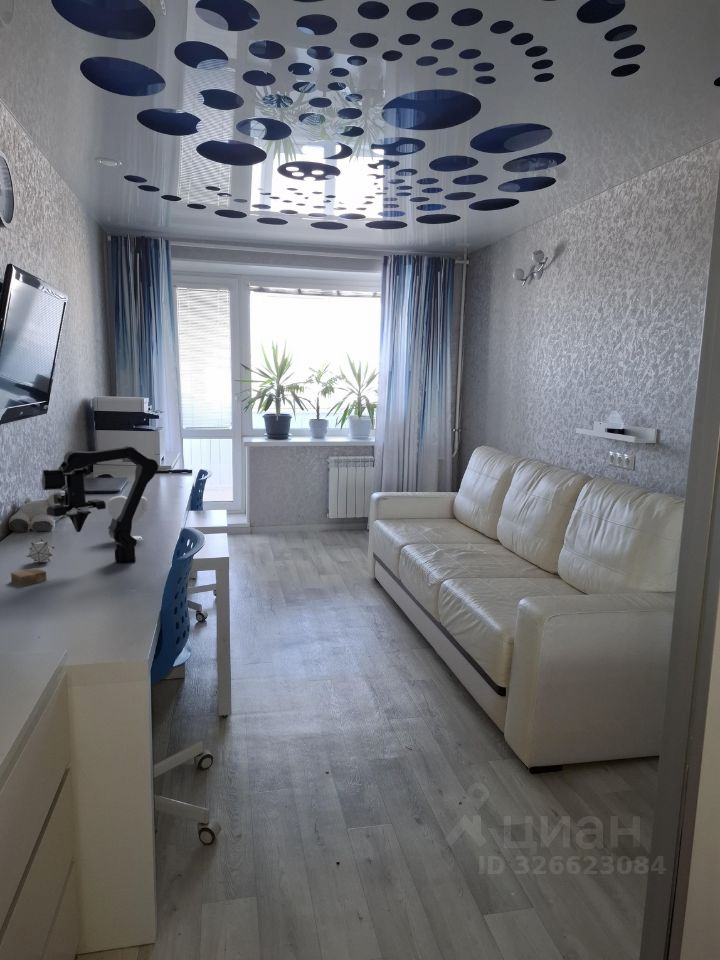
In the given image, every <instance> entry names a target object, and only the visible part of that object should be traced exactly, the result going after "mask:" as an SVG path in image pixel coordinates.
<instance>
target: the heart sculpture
mask: <svg viewBox="0 0 720 960" xmlns="http://www.w3.org/2000/svg"><path fill="white" fill-rule="evenodd" d="M127 498H128V496H127V497H126V496H125V495H116V496H114V497H111V498H110V499H108V501H107V504H106V509H107V512H108V514H109V515H110V516H111V519H112V518H114V519H117V518H118V517H119V516H120V514H121V512H122V509H123V507H124V505H125V502H126V500H127ZM147 512H148V499H147V498H146V497H145V496H143V495H142V497H141V500H140V502H139V504H138V507H137V509H136V512H135V514H134V516H133V519H132V526H133V525H134V524H136V523H138V522H139V521H140V520H141V519H143V518H144V516H145V514H146V513H147ZM130 535H131V536H132V537H133V538H134V539H137V540H143V539H142V537H141V536H142V535H132V533H131V534H130ZM139 538H141V539H139Z"/></svg>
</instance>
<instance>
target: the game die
mask: <svg viewBox="0 0 720 960" xmlns="http://www.w3.org/2000/svg"><path fill="white" fill-rule="evenodd" d="M30 544H31V547H29V548H28V549H29V550H30V551H29V554H28V555H26V558H31V559H32V560H33V562H35V561H36V562H37V563H38V564H40V565H41V563H43V562H46V561H49V562H51V559H50V557H53V554H52V551H53V549H55V546H51V545H49V544H48V542H47V541H46V542H45V541H43V539H42V538H41V539H40V541H38V542H35V543H34V542H31V543H30Z"/></svg>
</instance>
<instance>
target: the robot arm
mask: <svg viewBox="0 0 720 960" xmlns="http://www.w3.org/2000/svg"><path fill="white" fill-rule="evenodd" d="M122 459H128V460H130V462H131V463H133V464H134V465H135V474H134V482H133V483H132V485H131V487H130V490H129V493H128V496H127V500H126V502H125V505H124V507H123V509H122V512H121V514H120V516H119V517H118V518H117V519H114V518H112V517H111V523H110V525H109V526H108V527H107V529H108V535H109V537H110V538H111V540H112V539H113V540H115V541H114V542H115V543H116V545H115V546H116V547H115V548H114V562H116V563H115V564H127V563H128V564H129V563H136V561H137V558H136V557H137V556H136V545H137V542H138V539H137V540H136V539H134V538H133V537H132V536H133V535H132V528H133V525H132V519H133V516H134V514H135V512H136V509H137V507H138V504H139V502H140V500H141V497H142V496H143V494H144V492H145V490H146V487H147V485H148V483H150V482H151V480H152V479H153V478H154V476H155V475H156V474H157V472H158V470H159V465H158V462H157V460H156V459H155V460H154V459H152V458H150V457H146V456H145V455H143V454H142V453H141V452H139V451H138V450H136V448H134V447H132V446H129V445H125V446H122V447H116V448H108V449H102V450H95V451H85V450H70V451H67V452H66V453H65V454H64V457H63V461H62V463H61V464H60V465H59V466H58V468H57V469H43V470H42V476H41V479H40V480H41V486H42V487H41V488H42V490H43V491H51V490H52V491H53V490H62V489H63V488H64V487H65V486H66V490H64V494H63V495H62V494H61V493H59V494H58V493H57V494H54V495H53V503H54V504H55V505H50V506H49V505H48V507H47V508H46V515H48V516H52V517H61V516H67V517H68V518H69V520H70V521H71V523H72V525H73V527H74V529H75V531H76V533H81V530H82V529H83V526H84V524H85V522H86V520H87V518H88V516H89V515H90V514H92V511H90V509H94V508H96V509H97V510H104V509H105V510H106V509H107V504H106V502H105V501H104V500H103V499H96V498H95V499H90V500H87V501H86V494H88V490H86V485H85V484H86V483H85V480H86V479H85V475H91V471H89V470H88V469H87V468H86V467H89V466H91V465H93V464H96V463H102V462H108V461H109V462H110V461H116V460H122ZM130 534H131V535H130ZM113 540H112V541H113Z"/></svg>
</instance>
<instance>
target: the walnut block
mask: <svg viewBox="0 0 720 960" xmlns="http://www.w3.org/2000/svg"><path fill="white" fill-rule="evenodd" d="M10 577H11V578H10V579H11V581H10V582H11V583H14V584H15V585H18V586H20V587H24V585H25V586H27V585H28V584H29V585H32V583H33V584H37V583H41V582H45V581H47V571H45V570H42V569H40V568H37V567H33V568H29V569H24V570H19V571H14V572H10ZM44 580H45V581H44ZM40 581H41V582H40Z"/></svg>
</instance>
